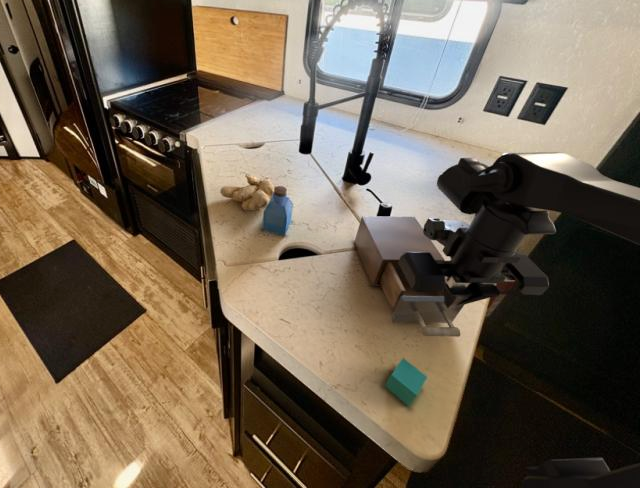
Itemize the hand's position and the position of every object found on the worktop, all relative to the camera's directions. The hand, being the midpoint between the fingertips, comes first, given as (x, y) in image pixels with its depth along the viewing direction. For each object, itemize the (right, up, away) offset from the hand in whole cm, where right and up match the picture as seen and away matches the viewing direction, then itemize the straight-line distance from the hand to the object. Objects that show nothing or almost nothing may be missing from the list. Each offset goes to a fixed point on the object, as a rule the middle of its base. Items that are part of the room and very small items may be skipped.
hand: (448, 305), depth 51 cm
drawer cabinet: (+1, +2, +23) cm, 23 cm away
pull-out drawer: (+1, -5, +12) cm, 13 cm away
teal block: (-7, -14, +1) cm, 16 cm away
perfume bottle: (-24, +9, +33) cm, 42 cm away
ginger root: (-30, +15, +42) cm, 54 cm away
